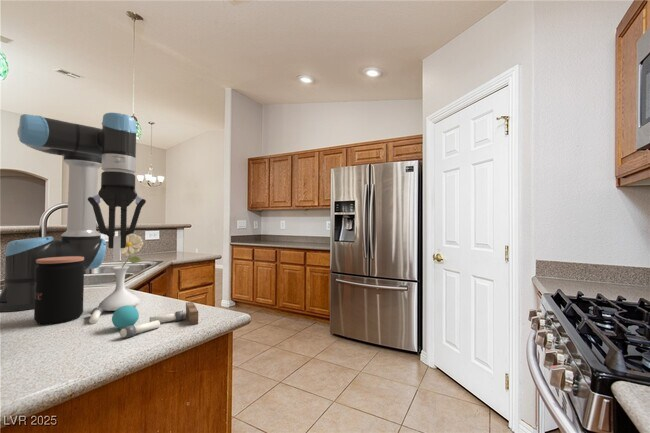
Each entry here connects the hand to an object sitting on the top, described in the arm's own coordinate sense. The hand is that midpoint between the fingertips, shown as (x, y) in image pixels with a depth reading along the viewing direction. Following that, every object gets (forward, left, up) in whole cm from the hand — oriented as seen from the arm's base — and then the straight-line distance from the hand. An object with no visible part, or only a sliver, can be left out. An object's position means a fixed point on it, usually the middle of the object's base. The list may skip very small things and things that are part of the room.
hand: (117, 260), depth 79 cm
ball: (0, +2, -15) cm, 15 cm away
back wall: (0, +19, -18) cm, 26 cm away
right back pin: (+4, +10, -17) cm, 20 cm away
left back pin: (-9, -6, -17) cm, 20 cm away
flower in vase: (-23, 0, -19) cm, 30 cm away
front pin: (0, +8, -17) cm, 19 cm away
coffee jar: (-19, -15, -19) cm, 31 cm away
